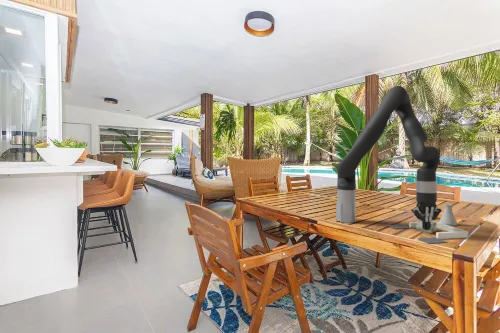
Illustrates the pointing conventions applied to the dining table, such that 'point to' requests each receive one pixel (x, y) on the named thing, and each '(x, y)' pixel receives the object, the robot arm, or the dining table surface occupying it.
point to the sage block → (420, 228)
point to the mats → (427, 240)
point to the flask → (448, 216)
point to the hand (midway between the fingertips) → (426, 229)
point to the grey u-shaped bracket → (451, 230)
